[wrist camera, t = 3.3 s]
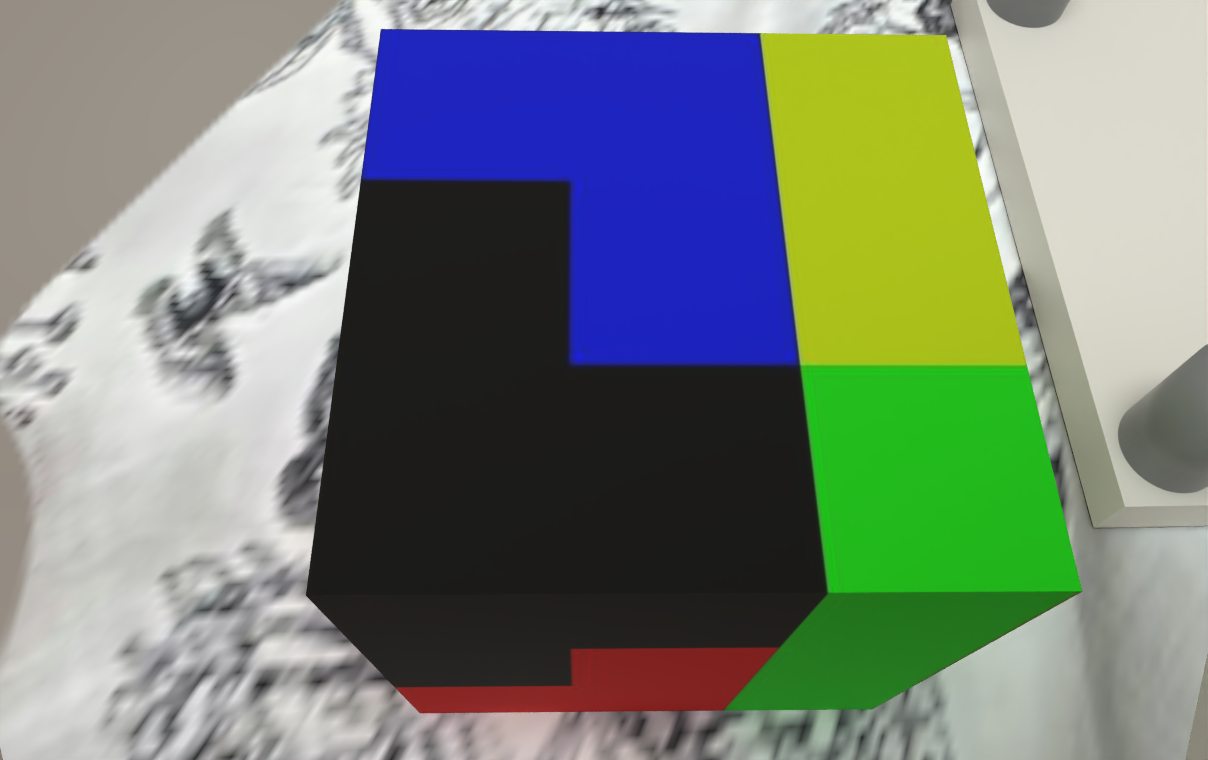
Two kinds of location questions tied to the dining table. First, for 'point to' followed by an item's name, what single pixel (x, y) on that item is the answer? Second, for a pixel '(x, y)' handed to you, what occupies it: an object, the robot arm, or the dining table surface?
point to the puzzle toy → (677, 378)
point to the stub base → (1109, 229)
